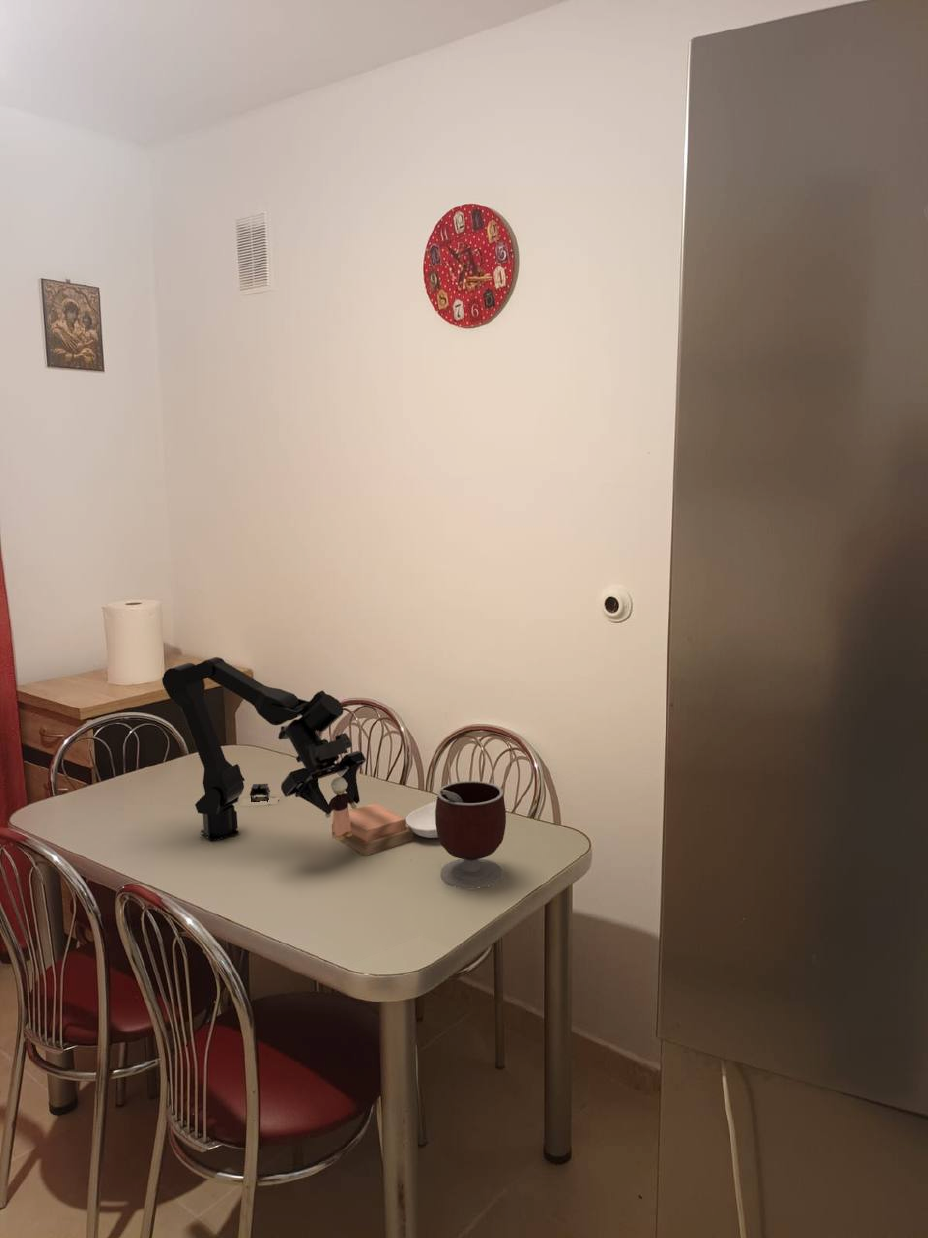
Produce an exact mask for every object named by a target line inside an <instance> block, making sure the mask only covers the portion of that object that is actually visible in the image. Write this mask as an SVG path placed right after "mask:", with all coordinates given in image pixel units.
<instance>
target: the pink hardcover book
mask: <svg viewBox="0 0 928 1238" xmlns="http://www.w3.org/2000/svg"><path fill="white" fill-rule="evenodd" d="M348 812H349V817H350V825H351V831H350V832H351V833H352V836H350V837H346V836H344V835H343V836H344V838H345V839H343V840H340V841H341V842H343V844H346V845H347V846H348V847H350V848H352V849H353V850H355V851H357V852H358V853H359V854H361V855H363V856H364V857H367V856H370V855H373V854H374V855H375V854H376V853H379V852H382V851H386V850H388V849H389V850H390V849H392V848H395V847H398V846H400V845H405V844H407V843H411V842H413V841H414V840H413V831H412V830H411V829H410V828H409V827H408V826H407V825H406V817H404V816H401V815H399V814H398V813H396V812H393V811H392V810H389V809H388V808H386V807H384V806H382V805H380V804H378V803H376V802H375V803H372V804H369V805H365V806H362V807H358V808H357V807H356V809H351V810H348ZM331 834H332V836H333V835H334V834H335V832H333V823H332V824H331Z"/></svg>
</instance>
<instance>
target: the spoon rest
mask: <svg viewBox="0 0 928 1238" xmlns="http://www.w3.org/2000/svg"><path fill="white" fill-rule="evenodd" d="M436 801H437V800H435V801H432V802H430V803H428V804H426V805H424V806H420V807H418V808H416V809H414V810H413V811H411V812H410V813H409V814H407V816H406V817H405V819H406V827H408V828H410V829H411V830H412V833H414V834H416V835H417V836H419V837H422V838H425V839H438V835H437V830H436V824H435V809H436Z"/></svg>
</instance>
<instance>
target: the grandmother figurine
mask: <svg viewBox="0 0 928 1238" xmlns="http://www.w3.org/2000/svg"><path fill="white" fill-rule="evenodd" d="M347 785H348V783H347V782H346V780H345V779H344V778H342V777H340V776H339V777H335V778H334V779H332V781H331V786H330V787H331V789H332V791H333V793H334V794H335V796H333V797H332V798H331V799H330V801H329V803H328V805H329V807H330V809H331V813H330V814H326V813H325V815H324V816H325V818H327V819H329V818H331V814H332V812H333V816H332V817H333V818H332V824H333V832H335V834H334V835H332V836H331V839H333V840H335V841H341V840H343V839H345V838H344V836H346V837H350V836H352V833H351V832H350V831H351V825H350V817H349V812H348V811H349V806H350V807H351V810H354V809H357V804H356V803H355V802H354V800H353V799H352V797H351V796H350V795H349V794H348V793H347V792H346V791H345V790H346V788H347ZM348 805H349V806H348ZM343 835H344V836H343Z"/></svg>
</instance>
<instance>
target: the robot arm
mask: <svg viewBox="0 0 928 1238" xmlns="http://www.w3.org/2000/svg"><path fill="white" fill-rule="evenodd" d="M206 679H209V680H211V681H213V682H214V683H216V684H218V685H219V686H221V687H223V688H224V689H225V690H228V691H230V692H231V693H233V694H235V695H236V696H237V697H239V698H241V699H243V700H245V701H246V702H248V703H249V704H251V705H252V706H253V707H254V708H255V710H256V713H257V714H258V715H259V716H260V717H261V718H263V719H264V720H265V721H266V722H267V723H269V724H270V725H272V726H279V725H282V724H283V726H281V727H280V731H279V733H278V737H277V738H278V739H279V740H287V739H288V740H289V742H290V743H291V745H292V747H293V749H294V751H295V752H296V754H297V756H296V758H295V760H296V761H297V763H302V764H303V766H304V767H302V768H299V769H297V770H293V771H290V772H289V773H288V775H287V776H286V777H285V778H284V779H283V781H282V782H281V786H280V787H281V788H280V789H281V792H282V793H283V795H284V797H286V798H287V797H290V796H293V795H294V797H295V798H301V799H302V800H305V801H306V802H308V803H310V804H311V805H313V806H315V807H316V808H317V809H319V810H321V811H322V812H324V813H325V814H330V813H331V814H332V812H331V809H330V807H329V803H328V801H327V799H326V797H325V795H324V794H323V792H322V791H321V789H320V784H319V779H323V778H326V777H329V776H332V775H336V774H338V776H339V777H342V778H344V779H345V780H346V782H347V783H348V785H347V788H346V790H345V793H348V794H349V795H350V796H351V797H352V799H353V800H354V803H355V805H357V804H359V803H360V795H359V794H360V793H359V788H358V784H357V772H358V771H359V769H360V768H361V767H362V766H363V765H364V763H365V762H366V761H367V759H366V757H365V755H364V753H363V752H362V751H359V750H356V751H353V752H350V753H349V752H348V751H349V750H348V749H350V748H351V747H352V745H353V744H352V741H351V738H350V737H349V736H348V734H347V733H346V732H345V733H341V734H339V735H336V736H335V740H331V741H329V740H328V739H326V738H321V736H320V735H319V733H318V732H321V733H322V732H325V731H326V730H327V729H329V727H331V726H332V724H334V723H335V722H336V721H337V720H338V719H339V718H340V717H341V716H342V715H343V714H344V708H343V707H344V706H343V705H342V703H341V702H340V700H339V699H337V698H335V697H334V696H332V695H330V694H328V693H326V692H325V691H324V690H322V689H321V690H320V691H317V693H316V694H314V695H313V696H312V698H311V700H309V701H308V700H305V699H301V698H298V697H297V696H296V695H295V694H294V693H292V692H290V691H287V690H284V689H281V688H276V687H270V686H268V685H265V684H263V683H261V682H260V681H257V680H256V679H255V678H253V677H251V676H249V675H247V674H246V673H244V672H243V671H241V670H240V669H237V668H236V667H234V666H232V665H231V664H229V663H227V662H226V661H225V660H224V659H223V658H221V657H220V656H219V657H218V656H215V657H211V658H209V659H205V660H203V661H202V662H200V663H197V664H195V663H192V662H187V663H184V664H180V665H176V666H174V667H171V668H169V669H166V671H165V672H164V673H163V677H162V678H161V681H162V682H161V683H162V686H163V688H164V689H165V691H166V693H167V695H168V697H169V699H170V700H171V701H172V702H173V703H175V704H176V705H177V706H179V708H180V709H181V711H182V713H183V716H184V719H185V721H186V723H187V724H186V725H187V727H188V729H189V733H190V735H191V738H192V740H193V743H194V745H195V748H196V750H197V753H198V756H199V759H200V761H201V765H202V766H203V775H202V777H203V778H202V787H203V792H204V794H203V795H202V797H201V798H200V799H199V800H197V801H196V803H195V804H194V806H195V808H196V811H197V813H198V814H200V815H201V814H202V824H203V826H202V828H203V829H202V830H200V833H201V832H202V833H203V834H204V835H205V836H206V837H208V838H209V839H210V840H211V841H210V840H209V839H208V838H207V839H208V840H209V841H210V842H215V841H218V839H219V840H222V839H221V838H223V839H226V838H230V837H233V836H232V835H234V836H237V835H239V834H240V832H239V830H238V825H239V824H238V812H237V811H236V810H235V805H234V804H237V803H238V801H239V799H240V798H239V797H240V796H241V795H242V794H243V791H244V789H245V783H244V781H245V779H246V778H244V776H243V775H242V772H241V767H240V766H239V764H237V763H236V764H234V765H232V764H231V763H230V762H229V761H228V760H227V759H226V757H225V755H224V751H223V749H222V746H221V744H220V741H219V738H218V736H217V732H216V730H215V727H214V724H213V722H212V720H211V717H210V715H209V712H208V709H207V707H206V703H205V702H204V697H205V695H204V694H205V687H206V686H205V685H206V684H205V681H204V680H206ZM298 717H300V718H299V719H298ZM296 718H297V719H296ZM288 721H290V722H289V724H288V725H285V726H284V723H285V724H286V722H288ZM343 754H345V755H344V756H343V757H342V758H341V760H340V761H339V762H337V763H336V761H338V760H339V759H340V755H343ZM331 814H330V815H331ZM202 833H201V834H202ZM238 833H239V834H238ZM203 834H202V835H203ZM236 834H237V835H236ZM204 835H203V836H204ZM205 836H204V837H205ZM229 836H230V837H229ZM206 837H205V838H206ZM225 837H226V838H225ZM214 840H215V841H214Z"/></svg>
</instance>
